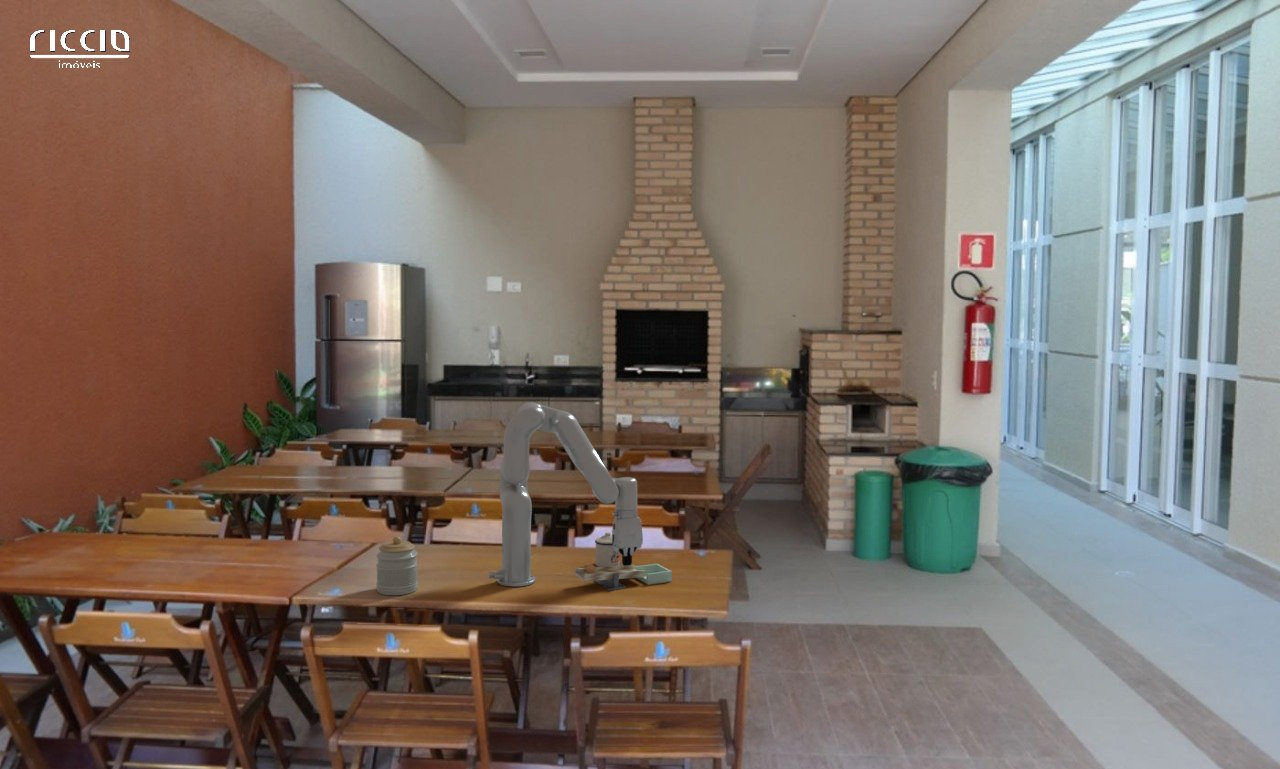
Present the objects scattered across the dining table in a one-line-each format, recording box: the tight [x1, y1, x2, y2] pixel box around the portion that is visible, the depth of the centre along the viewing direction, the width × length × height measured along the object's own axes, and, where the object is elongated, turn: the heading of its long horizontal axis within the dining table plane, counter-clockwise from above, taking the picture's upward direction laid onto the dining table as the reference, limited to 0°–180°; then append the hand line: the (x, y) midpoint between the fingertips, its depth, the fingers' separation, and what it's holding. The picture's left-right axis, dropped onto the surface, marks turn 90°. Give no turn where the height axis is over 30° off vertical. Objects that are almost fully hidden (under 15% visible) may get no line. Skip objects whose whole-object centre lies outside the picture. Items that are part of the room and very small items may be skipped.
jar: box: [375, 535, 419, 596], centre depth 304 cm, size 13×13×18 cm
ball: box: [585, 564, 596, 574], centre depth 310 cm, size 3×3×3 cm
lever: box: [574, 564, 645, 582], centre depth 315 cm, size 22×13×3 cm, turn 117°
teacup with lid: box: [594, 532, 621, 567], centre depth 339 cm, size 12×9×12 cm
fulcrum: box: [594, 574, 627, 591], centre depth 313 cm, size 6×12×5 cm, turn 27°
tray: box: [635, 563, 673, 586], centre depth 320 cm, size 9×11×4 cm
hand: (627, 566), depth 324 cm, fingers closed
